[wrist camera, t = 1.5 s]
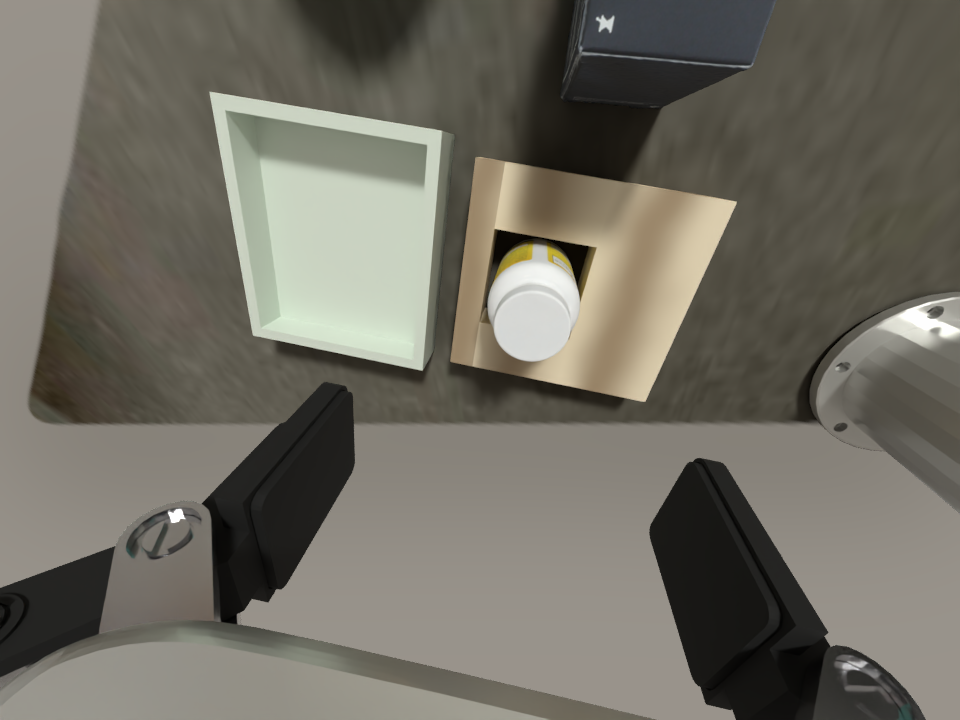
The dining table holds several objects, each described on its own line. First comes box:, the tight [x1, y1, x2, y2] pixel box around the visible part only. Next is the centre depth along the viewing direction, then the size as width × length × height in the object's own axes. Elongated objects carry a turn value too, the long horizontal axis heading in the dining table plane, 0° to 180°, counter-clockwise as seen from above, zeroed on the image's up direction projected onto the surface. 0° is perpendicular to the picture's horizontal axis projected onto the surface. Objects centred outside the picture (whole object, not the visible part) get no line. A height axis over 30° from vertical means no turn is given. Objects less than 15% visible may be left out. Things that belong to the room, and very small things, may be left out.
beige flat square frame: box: [450, 157, 737, 402], centre depth 26 cm, size 15×14×3 cm
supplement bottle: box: [488, 239, 580, 362], centre depth 23 cm, size 5×5×10 cm
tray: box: [210, 92, 455, 371], centre depth 26 cm, size 14×16×4 cm
